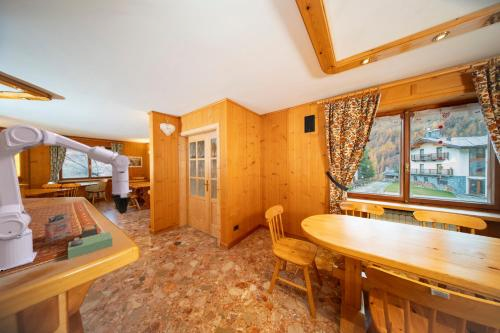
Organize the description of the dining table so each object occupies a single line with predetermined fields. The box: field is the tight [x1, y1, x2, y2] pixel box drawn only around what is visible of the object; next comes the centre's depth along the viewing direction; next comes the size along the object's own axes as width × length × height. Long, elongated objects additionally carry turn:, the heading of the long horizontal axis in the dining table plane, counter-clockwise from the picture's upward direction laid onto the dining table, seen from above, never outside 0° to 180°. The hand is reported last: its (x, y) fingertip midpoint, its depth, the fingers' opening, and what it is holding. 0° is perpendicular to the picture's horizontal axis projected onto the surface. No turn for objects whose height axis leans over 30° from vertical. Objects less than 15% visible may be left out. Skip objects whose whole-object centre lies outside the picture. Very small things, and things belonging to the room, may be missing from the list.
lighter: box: [43, 212, 72, 243], centre depth 67 cm, size 8×3×10 cm, turn 179°
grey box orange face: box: [81, 223, 98, 239], centre depth 67 cm, size 4×7×5 cm, turn 48°
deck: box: [67, 230, 113, 260], centre depth 59 cm, size 11×13×4 cm
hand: (121, 211), depth 70 cm, fingers open, 7 cm apart
